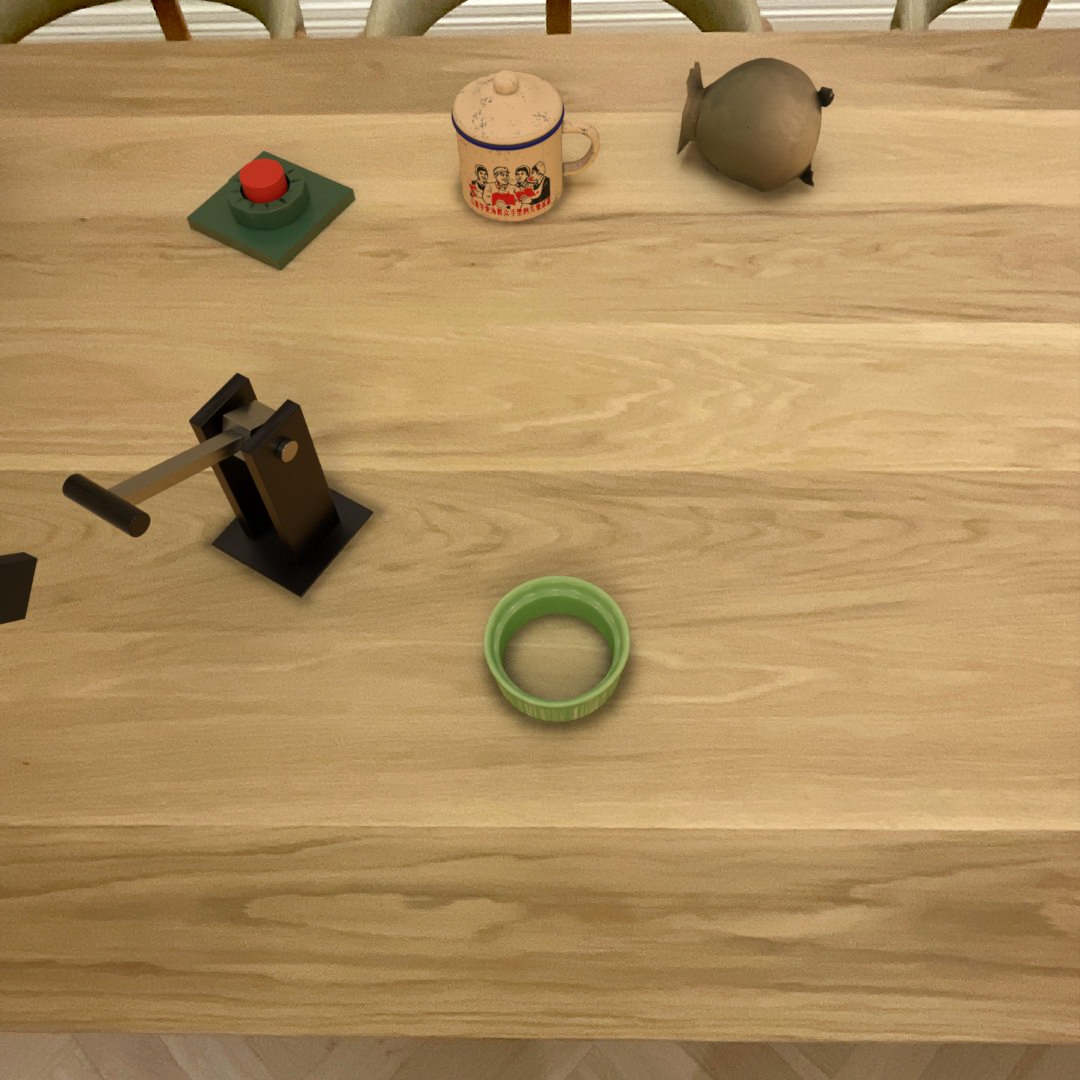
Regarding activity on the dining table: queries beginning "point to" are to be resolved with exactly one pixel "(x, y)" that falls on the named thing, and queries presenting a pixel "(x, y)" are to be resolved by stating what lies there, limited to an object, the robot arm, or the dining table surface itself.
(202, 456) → the lever
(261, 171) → the button
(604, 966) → the dining table surface
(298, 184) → the button box
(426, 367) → the dining table surface
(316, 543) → the bracket
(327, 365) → the dining table surface
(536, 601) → the ramekin
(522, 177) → the teacup with lid
